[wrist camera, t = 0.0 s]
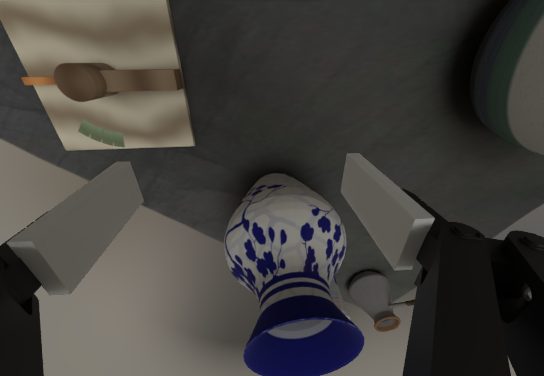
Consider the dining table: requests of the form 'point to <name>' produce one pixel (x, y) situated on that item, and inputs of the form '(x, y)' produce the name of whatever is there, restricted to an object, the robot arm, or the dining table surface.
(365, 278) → the coffee pot
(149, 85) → the wooden mallet
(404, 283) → the dining table surface
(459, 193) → the dining table surface
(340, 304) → the beverage can
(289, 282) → the vase
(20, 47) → the cream flat square slab
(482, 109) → the planter
